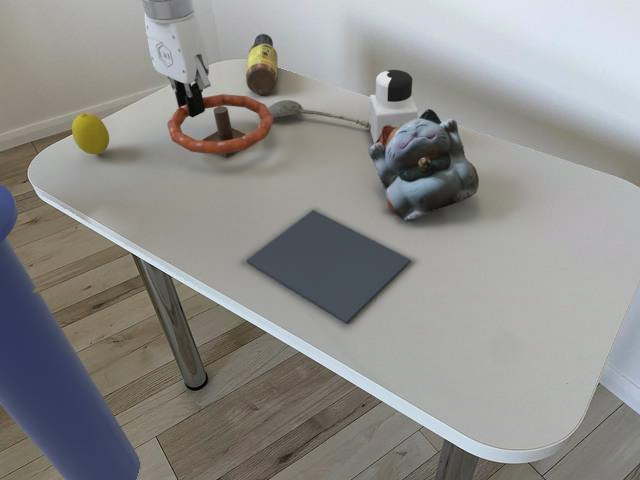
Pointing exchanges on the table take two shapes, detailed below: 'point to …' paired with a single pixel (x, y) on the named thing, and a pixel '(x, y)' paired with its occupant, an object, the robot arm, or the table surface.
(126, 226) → the table surface
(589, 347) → the table surface
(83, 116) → the lemon
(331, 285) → the mat
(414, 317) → the table surface
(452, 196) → the lucky cat figurine
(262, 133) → the ring
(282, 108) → the soupspoon
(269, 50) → the sauce bottle
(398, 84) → the medicine bottle
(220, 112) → the post stand
